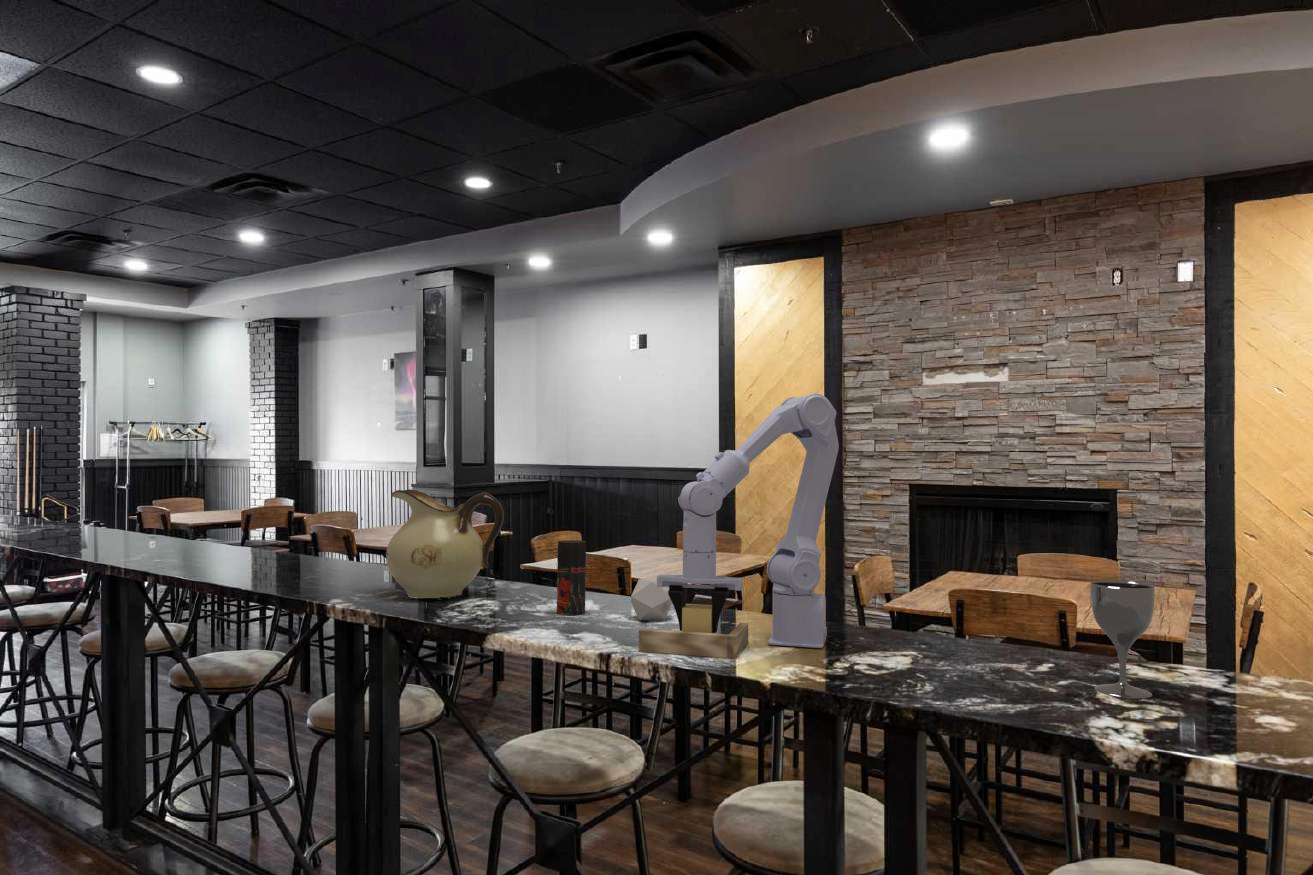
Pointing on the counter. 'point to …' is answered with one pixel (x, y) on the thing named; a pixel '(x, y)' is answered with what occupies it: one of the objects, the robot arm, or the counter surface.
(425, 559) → the pitcher
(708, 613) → the block
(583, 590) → the deodorant
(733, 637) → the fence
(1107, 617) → the wine glass
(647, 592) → the die
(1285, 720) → the counter surface
